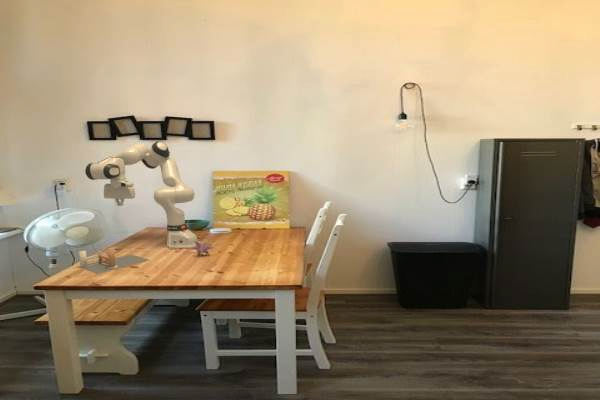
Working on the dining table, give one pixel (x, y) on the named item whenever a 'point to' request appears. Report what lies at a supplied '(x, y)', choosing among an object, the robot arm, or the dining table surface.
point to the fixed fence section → (84, 259)
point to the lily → (202, 247)
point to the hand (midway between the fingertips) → (120, 205)
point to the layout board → (119, 263)
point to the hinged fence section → (109, 258)
